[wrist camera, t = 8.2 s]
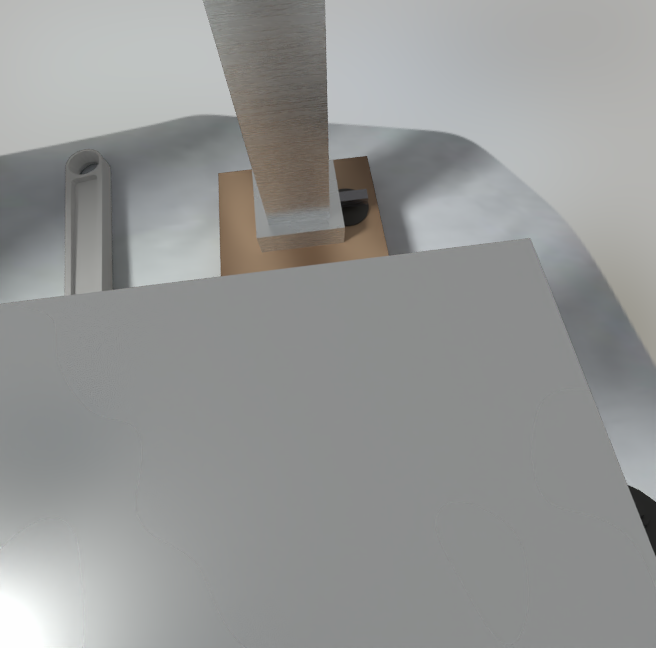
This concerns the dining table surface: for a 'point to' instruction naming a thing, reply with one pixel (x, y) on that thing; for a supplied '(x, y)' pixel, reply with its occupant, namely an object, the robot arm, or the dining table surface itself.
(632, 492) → the robot arm
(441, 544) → the block
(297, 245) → the fixed leg
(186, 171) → the dining table surface
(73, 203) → the adjustable wrench
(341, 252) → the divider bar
